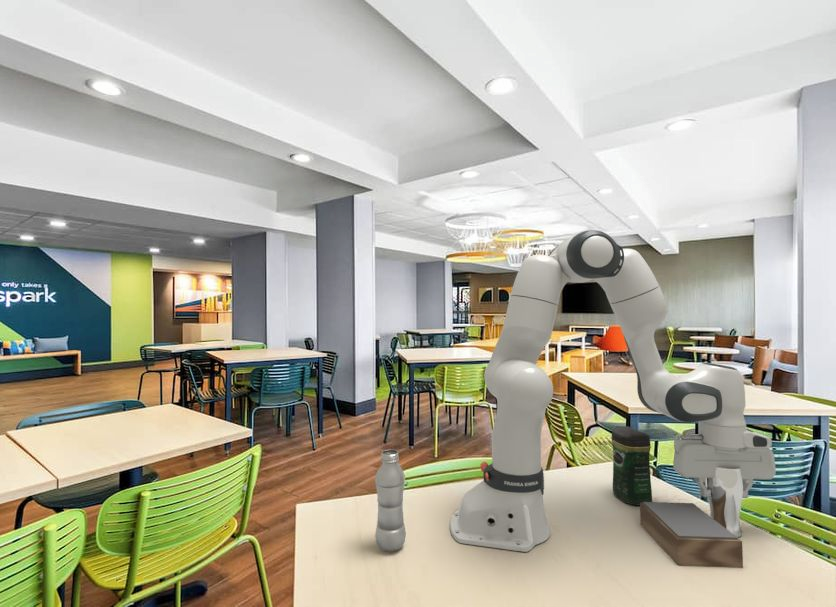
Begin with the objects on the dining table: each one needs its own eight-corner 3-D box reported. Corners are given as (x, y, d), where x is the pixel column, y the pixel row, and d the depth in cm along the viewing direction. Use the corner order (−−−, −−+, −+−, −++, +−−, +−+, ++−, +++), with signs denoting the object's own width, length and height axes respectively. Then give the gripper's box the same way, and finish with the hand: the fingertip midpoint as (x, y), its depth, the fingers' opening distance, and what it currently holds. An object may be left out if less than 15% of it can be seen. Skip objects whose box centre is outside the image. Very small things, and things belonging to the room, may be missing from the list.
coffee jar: (658, 506, 106) (656, 432, 107) (629, 507, 105) (627, 434, 106) (634, 490, 116) (633, 423, 117) (607, 491, 115) (606, 424, 116)
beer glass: (751, 540, 90) (749, 470, 90) (715, 537, 91) (713, 468, 92) (734, 524, 96) (732, 459, 97) (700, 522, 98) (698, 457, 98)
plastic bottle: (409, 540, 91) (409, 448, 91) (400, 558, 84) (399, 458, 85) (382, 536, 93) (381, 446, 93) (370, 553, 86) (370, 456, 87)
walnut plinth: (678, 565, 81) (677, 537, 81) (640, 524, 97) (640, 500, 97) (743, 567, 80) (742, 539, 80) (694, 525, 96) (693, 502, 96)
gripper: (681, 438, 92) (683, 501, 92) (779, 439, 91) (782, 504, 90) (666, 430, 98) (668, 489, 98) (758, 431, 97) (760, 492, 96)
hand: (723, 496), depth 94 cm, fingers closed on beer glass, 6 cm apart
